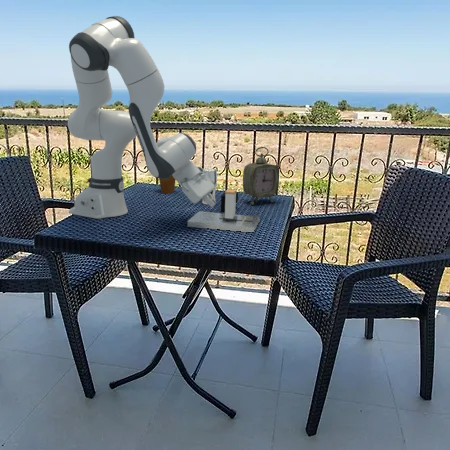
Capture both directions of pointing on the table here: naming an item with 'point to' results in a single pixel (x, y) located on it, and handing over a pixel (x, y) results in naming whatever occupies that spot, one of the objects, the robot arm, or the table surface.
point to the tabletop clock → (260, 178)
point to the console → (224, 222)
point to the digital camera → (224, 201)
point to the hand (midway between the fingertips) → (214, 205)
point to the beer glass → (213, 177)
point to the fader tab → (230, 205)
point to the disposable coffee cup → (167, 185)
